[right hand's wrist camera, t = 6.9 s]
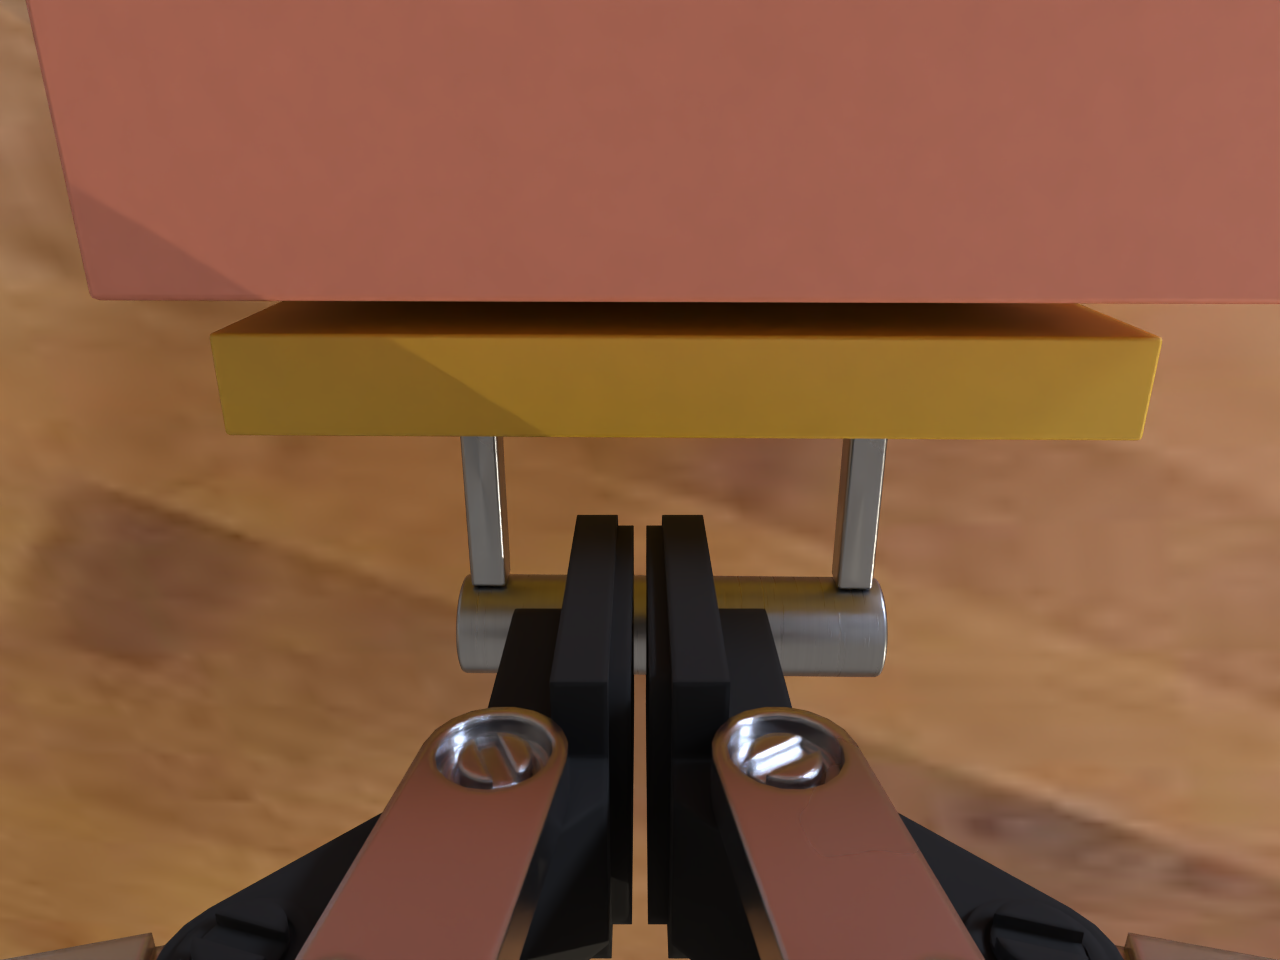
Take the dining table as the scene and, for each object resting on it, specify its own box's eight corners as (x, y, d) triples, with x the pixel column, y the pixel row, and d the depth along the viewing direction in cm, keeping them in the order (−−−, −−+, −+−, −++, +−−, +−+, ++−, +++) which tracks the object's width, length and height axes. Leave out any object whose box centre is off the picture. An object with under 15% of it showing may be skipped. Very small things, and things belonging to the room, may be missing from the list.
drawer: (885, 530, 22) (1059, 836, 12) (449, 527, 22) (292, 825, 12) (1017, -697, 14) (1732, -2339, 5) (347, -688, 14) (-245, -2254, 5)
